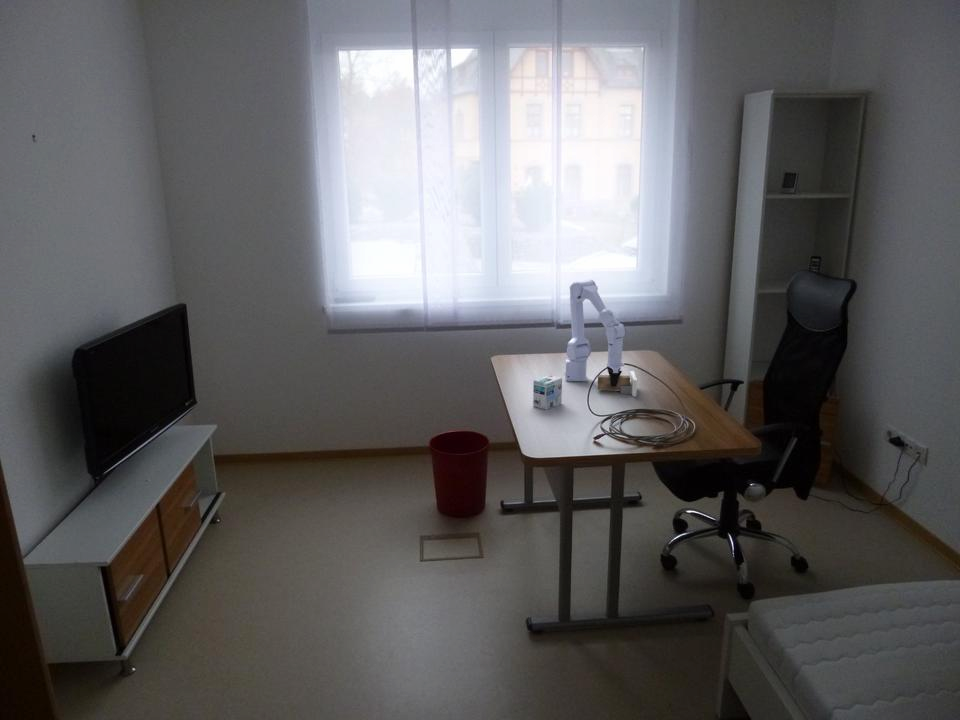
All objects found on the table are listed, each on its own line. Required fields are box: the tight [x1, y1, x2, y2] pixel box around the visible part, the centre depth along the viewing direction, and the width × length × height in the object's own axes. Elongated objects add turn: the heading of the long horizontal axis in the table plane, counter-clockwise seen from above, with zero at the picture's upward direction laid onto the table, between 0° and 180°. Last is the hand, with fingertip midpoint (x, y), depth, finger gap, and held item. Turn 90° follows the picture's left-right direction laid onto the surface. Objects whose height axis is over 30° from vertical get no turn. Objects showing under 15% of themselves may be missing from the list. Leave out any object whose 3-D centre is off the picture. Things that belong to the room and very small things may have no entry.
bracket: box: [619, 370, 638, 397], centre depth 288 cm, size 6×13×7 cm, turn 174°
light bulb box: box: [532, 374, 563, 411], centre depth 272 cm, size 11×7×11 cm, turn 137°
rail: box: [597, 374, 630, 391], centre depth 289 cm, size 13×3×6 cm, turn 84°
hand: (613, 384), depth 289 cm, fingers closed on rail, 3 cm apart
